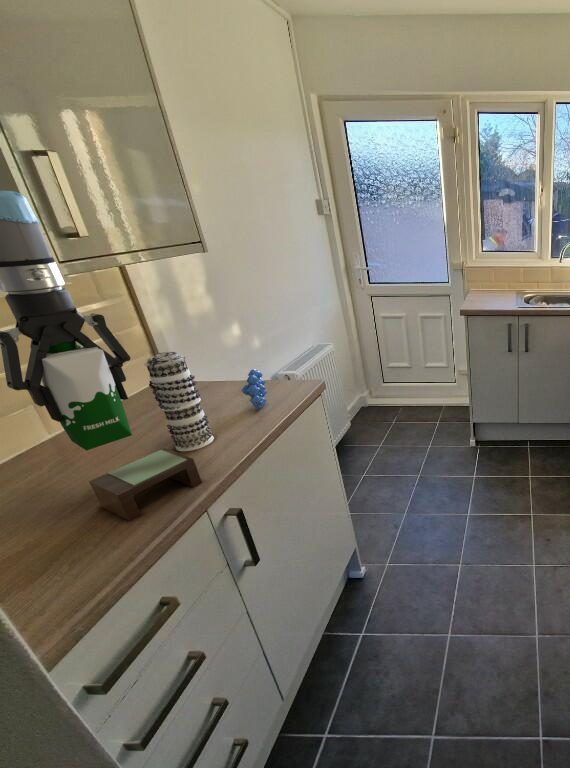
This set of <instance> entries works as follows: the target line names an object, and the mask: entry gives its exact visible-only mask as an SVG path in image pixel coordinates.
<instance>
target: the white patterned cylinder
mask: <svg viewBox="0 0 570 768" xmlns="http://www.w3.org/2000/svg"><path fill="white" fill-rule="evenodd" d="M186 358H187V357H186V356H185V355H181V354H180V353H179V352H176V351H164V352H159V353H155V354H153V355H150V356H149V357H148V359H147V361H146V362H144V364H143V365H144V367H146V368H147V371H148V373H149V375H148V376H149V379H150V380H149V383H148V386H149V388H150V389H152V394H153V395H154V400H155V401H156V402H157V403H158V407H159V409H160V410H161V411H163V412H164V415H165V421H166V422H167V424H166V427H167V429H168V433H169V434H170V438H171V440H172V441H173V442H172V443H173V445H174V446H175V450H176V451H178V452H191V451H195V450H196V451H197V450H199V449H202V448H205V447H206V446H209V445H210V444H212V442H214V439H215V437H214V435H213V432H212V430H211V429H212V427H211V426H210V424H209V423H210V422H209V420H208V419H207V418H208V416H207V414H206V413H205V411H204V409H203V408H202V406H201V403H200V402H201V394H200V393H198V392H199V388H198V387H195V386H196V385H197V381H196V380H195V378H196V376H195V375H192V374H191V371H190V368H189V367H188V365H187V361H186Z"/></svg>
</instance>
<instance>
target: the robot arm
mask: <svg viewBox="0 0 570 768" xmlns="http://www.w3.org/2000/svg"><path fill="white" fill-rule="evenodd" d="M39 220H40V219H38V218H37V217H36V215H35V213H34V211H33V209H32V207H31V206H30V203H29V201H28V199H27V198H26V197H25V196H24V195H23V194H21V193H20V192H17V191H14V190H0V291H1V292H3V293H7V294H6V295H5V296H4V299H5V301H6V303H7V305H8V307H9V309H10V311H11V313H12V315H13V317H14V319H15V322H16V323H15V327H13V328H9V329H6V330H0V350H1V356H2V357H1V358H2V364H3V369H4V374H5V381H6V386H7V388H9V389H12V390H14V391H27V392H28V394H29V396H30V398H31V400H32V402H33V403H34V404H35V405H36V406H38V407H39V408H42V407H45V409H46V411H47V413H48V415H49V417H50V419H51V420H53V421H56V422H57V423H60V421H63V420H64V419H63V417H62V415H61V413H60V411H59V409H58V407H57V405H56V403H55V401H54V399H53V397H52V395H51V393H50V391H49V389H48V387H45V386H44V385H43V384H42V380H41V379H42V375H43V370H44V367H43V362H42V359H44V358H46V355H47V352H48V351H49V347H50V345H51V346H52V345H57V344H59V343H62V342H71V341H76V343H77V344H78V345H82V346H83V347H86V348H93V349H94V348H95V347H98V349H101V350H103V352H104V355H105V358H106V361H107V363H108V367H109V369H110V372H111V374H112V377H113V379H114V382H115V385H116V388H117V390H118V393H119V396H120V398H121V401H126V400H129V396H128V395H127V391H126V390H125V387H124V384H123V383H124V382H127V377H126V375H125V373H124V370H123V366H124V363H126V362H129V361H130V360H131V356H130V355H129V353H128V352H127V351H126V349H125V348H124V347H123V345H122V344H121V342H119V340H118V339H117V338H116V336H115V335H114V334H113V333H112V331H111V330H110V328H109V327H108V326H107V322H106V319H105V316H104V315H102V314H99V313H90V314H87V315H82V314H81V313H80V312H79V311H78V310H77V307H76V304H75V303H74V300H73V298H72V296H71V294H70V291H69V290H68V289H66V288H65V287H64V286H65V284H66V283H65V280H64V277H63V276H62V273H61V272H60V269H59V267H58V265H57V262H56V260H55V257H54V256H53V254H52V252H51V249H50V247H49V245H48V243H47V240H46V238H45V235H44V232H43V231H42V229H41V225H40V221H39ZM63 287H64V288H63ZM85 323H87V325H88V326H90V327H92V329H93V330H94V331H95V333H97V335H98V336H99V337H100V339H101V340H102V342H103V343H104V344H105V345H106V346H107V347H108V349H109V350H110V351H111V353H112V354H113V355H114V356H115V357H114V356H112V354H110V353H109V352H107V351H106V350H105V349H104V348H102V347H101V346H100V345H98V344H97V343H95V342H94V341H93V340H91V338H89V337H88V335H86V334H85V333H83V332H82V331H81V330H82V328H83V327H84V324H85ZM19 335H23V336H25V337H27V338H28V339H31V341H30V346H29V347H30V353H29V356H28V362H27V367H26V372H25V377H24V379H23V374H22V366H21V360H20V354H19V347H18V345H17V343H18V342H19V339H20V337H19ZM23 380H24V381H23Z"/></svg>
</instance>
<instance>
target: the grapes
mask: <svg viewBox="0 0 570 768" xmlns="http://www.w3.org/2000/svg"><path fill="white" fill-rule="evenodd" d="M247 376H248V377H247V379H246V383H247V384H245V385H244V386H243V387H242V389H241V392H242V393H243V394H244V395H245V396H249V397H250V399H249V402H250V403H251V404H252V406H253V407H254V408H255V409H256V410H262V409H263V407H264V406H265V404H266V403H267V402H268V401H267V400H268V399H266V398H265V396H266V394H267V393H268V390H266V388H267V387H266V386H264V385H265V384H266V381H265V380H264V379H263V378H262V377H263V373H262V372H261V371H260V370H257V369H255V368H252V369H250V371H249V372H248V373H247Z"/></svg>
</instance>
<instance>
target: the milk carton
mask: <svg viewBox="0 0 570 768" xmlns="http://www.w3.org/2000/svg"><path fill="white" fill-rule="evenodd" d="M103 350H104V349H103ZM103 350H101V349H98V347H95V348H94V349H93V348H86V347H83V346H82V345H80V344H78V343H77V342H76V341H71V342H62V343H59V344H57V345H52V346H51V345H50V347H49V351H48V352H47V355H46V358H44V359H42V362H43V367H44V370H43V375H42V379H41V384H42V386H45V387H48V389H49V391H50V393H51V395H52V397H53V399H54V401H55V403H56V405H57V407H58V409H59V411H60V413H61V415H62V417H63V419H64V420H63V421H60V422H59V423H60V425H61V427H62V428H63V430H64V432H65V433H66V434H67V436H68V438H69V439H70V441H71V442H72V443H74V444H76V445H77V446H79V448H82V449H83V450H85V451H90V450H92V449H95V448H99V447H102V446H105V445H107V444H111V443H114V442H117V441H119V440H122V439H125V438H129V437H132V436H133V434H132V430H131V427H130V424H129V420H128V416H127V413H126V410H125V407H124V405H123V400H122V399H121V398H120V396H119V393H118V390H117V388H116V385H115V382H114V379H113V377H112V374H111V372H110V369H109V365H108V363H107V361H106V358H105V355H104V352H103Z"/></svg>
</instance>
